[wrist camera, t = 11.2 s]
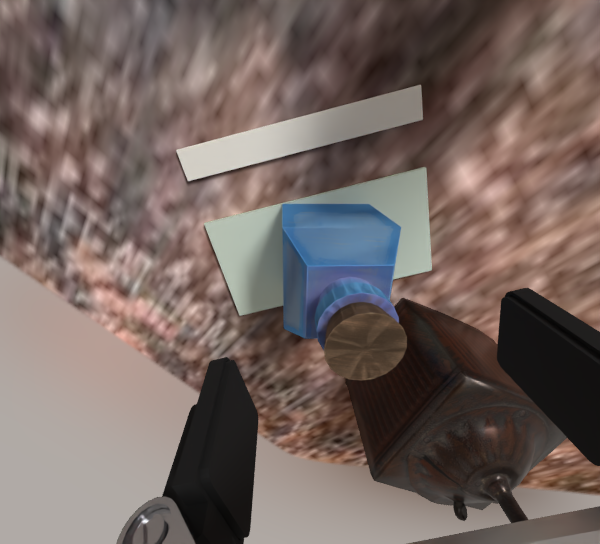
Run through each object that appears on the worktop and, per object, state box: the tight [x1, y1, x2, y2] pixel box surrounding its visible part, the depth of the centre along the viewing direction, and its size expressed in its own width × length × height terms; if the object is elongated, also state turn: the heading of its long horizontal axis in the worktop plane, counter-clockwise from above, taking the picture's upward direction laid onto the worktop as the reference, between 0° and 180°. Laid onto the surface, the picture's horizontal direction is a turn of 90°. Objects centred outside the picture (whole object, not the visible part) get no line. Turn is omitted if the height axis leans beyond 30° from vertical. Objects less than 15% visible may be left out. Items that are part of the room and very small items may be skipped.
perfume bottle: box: [282, 204, 407, 380], centre depth 16 cm, size 6×6×12 cm
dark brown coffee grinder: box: [346, 298, 567, 523], centre depth 20 cm, size 16×11×18 cm
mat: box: [204, 167, 432, 316], centre depth 22 cm, size 8×16×1 cm, turn 103°
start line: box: [176, 85, 423, 181], centre depth 19 cm, size 2×16×1 cm, turn 104°
